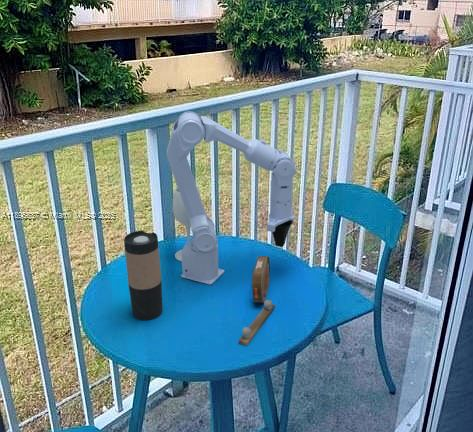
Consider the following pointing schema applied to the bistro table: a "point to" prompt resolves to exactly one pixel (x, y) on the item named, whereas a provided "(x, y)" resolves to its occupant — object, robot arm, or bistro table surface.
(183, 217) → the wineglass
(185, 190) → the robot arm
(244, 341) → the wooden rack with knobs
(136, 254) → the travel mug
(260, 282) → the tin
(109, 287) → the bistro table surface
